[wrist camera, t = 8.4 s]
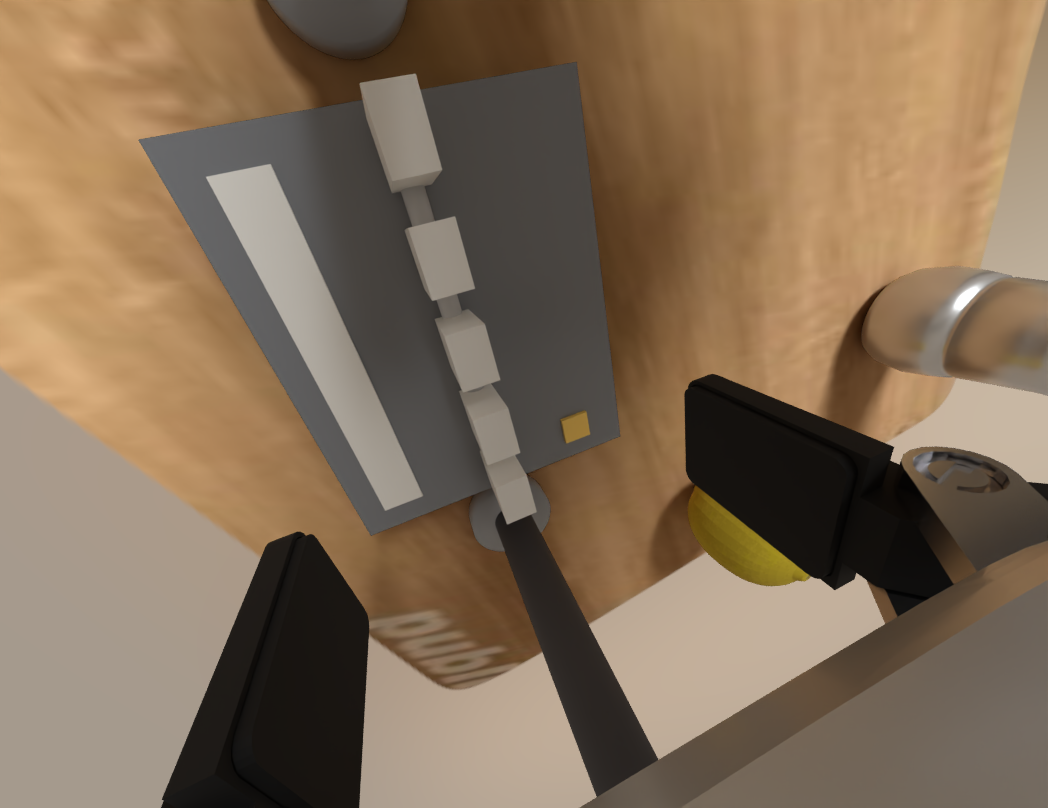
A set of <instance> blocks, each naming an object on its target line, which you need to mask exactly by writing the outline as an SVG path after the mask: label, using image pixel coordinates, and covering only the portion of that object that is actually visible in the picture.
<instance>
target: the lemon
mask: <svg viewBox="0 0 1048 808" xmlns="http://www.w3.org/2000/svg"><path fill="white" fill-rule="evenodd" d="M688 520H689V524H690V527H691V529H692V531H693V534H694V536H695V537H696V539H697V541H698V542H699V544H700V545H701V546H702V547H703V549H704V550H705V551H706V552H707V553H708V554H709V555H710V556H711V557H712V558H713V559H715V560H716V561H717V562H718V563H719V564H720V565H722V566H723V567H724V568H726V569H727V570H728V571H730V572H731V573H733V574H735V575H736V576H738V577H740V578H742V579H744V580H746V581H748V582H752V583H755V584H759V585H764V586H780V585H786V584H790V583H792V582H795V581H797V580H798V581H806V580H808V579H809V578H810V577H811V576H810V575H808V574H807V573H805V572H804V571H803V570H801V569H800V568H799V567H798V566H796V565H795V564H794V563H793V562H791V561H790V560H789V559H788V558H786V557H785V556H784V555H783V554H781V553H780V552H779V551H778V550H776V549H775V548H774V547H773V546H771V545H770V544H769V543H768V542H766V541H765V540H764V539H762V538H761V537H760V536H759V535H757V534H756V533H755V532H754V531H752V530H751V529H750V528H749V527H747V526H746V525H745V524H744V523H742V522H741V521H740V520H739V519H737V518H736V517H735V516H734V515H732V514H731V513H730V512H729V511H727V510H726V509H725V508H724V507H722V506H721V505H720V504H719V503H717V502H716V501H715V500H713V499H712V498H711V497H710V496H708V495H707V494H706V493H705V492H703V491H702V490H701V489H700V488H698V487H697V486H695V487H694V492H693V493H692V495H691V498H690V500H689V504H688Z"/></svg>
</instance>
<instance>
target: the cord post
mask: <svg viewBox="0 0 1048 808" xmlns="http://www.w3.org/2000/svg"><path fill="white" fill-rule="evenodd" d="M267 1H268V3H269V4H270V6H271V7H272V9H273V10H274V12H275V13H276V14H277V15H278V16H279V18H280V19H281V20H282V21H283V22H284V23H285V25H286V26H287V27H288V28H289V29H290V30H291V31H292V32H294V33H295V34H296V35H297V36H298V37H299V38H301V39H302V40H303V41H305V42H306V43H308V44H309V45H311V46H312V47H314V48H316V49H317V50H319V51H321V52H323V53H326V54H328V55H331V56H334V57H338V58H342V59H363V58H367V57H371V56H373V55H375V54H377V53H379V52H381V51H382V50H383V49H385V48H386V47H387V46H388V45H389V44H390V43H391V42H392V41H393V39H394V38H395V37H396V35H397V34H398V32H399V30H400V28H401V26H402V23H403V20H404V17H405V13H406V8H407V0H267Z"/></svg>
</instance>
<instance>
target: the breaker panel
mask: <svg viewBox="0 0 1048 808" xmlns="http://www.w3.org/2000/svg"><path fill="white" fill-rule="evenodd" d="M420 91H421V94H422V98H423V102H424V105H425V109H426V113H427V116H428V120H429V123H430V127H431V131H432V134H433V138H434V142H435V145H436V149H437V152H438V156H439V160H440V163H441V167H442V171H441V173H440V174H439V175H438V177H437V178H436V179H435V181H434V182H433V183H432V184H431V185H427V186H425V190H426V193H427V196H428V200H429V203H430V206H431V210H432V213H433V216H434V220H435V221H438V220H442V219H446V218H450V217H454V216H455V218H456V221H457V225H458V228H459V232H460V236H461V239H462V243H463V247H464V250H465V254H466V257H467V261H468V265H469V268H470V272H471V275H472V279H473V283H474V286H475V289H472V290H469V291H465V292H462V293H458V294H457V296H458V299H459V303H460V306H461V309H462V311H463V310H467V309H469V310H470V311H471V312H472V313H473V314H474V315H475V316H477V317H478V318H479V319H480V320H481V321H482V322H483V323H484V324H485V326H486V330H487V333H488V337H489V341H490V344H491V348H492V351H493V355H494V359H495V362H496V366H497V370H498V373H499V377H500V380H499V381H496V382H493V383H491V384H492V386H493V387H494V388H495V390H496V391H497V393H498V394H499V396H500V397H501V398H502V400H503V401H504V403H505V404H506V406H507V407H508V409H509V413H510V417H511V420H512V424H513V427H514V431H515V435H516V438H517V442H518V446H519V449H520V453H519V454H516V455H515V456H516V458H517V459H518V461H519V463H520V465H521V466H522V468H523V470H524V471H525V473H526V474H527V473H529V472H532V471H534V470H537V469H539V468H542V467H544V466H547V465H550V464H552V463H555V462H557V461H560V460H562V459H565V458H567V457H570V456H572V455H575V454H577V453H580V452H582V451H585V450H587V449H590V448H592V447H595V446H597V445H600V444H602V443H605V442H607V441H610V440H612V439H615V438H617V437H620V429H619V421H618V412H617V404H616V395H615V386H614V378H613V369H612V361H611V352H610V344H609V335H608V326H607V318H606V309H605V301H604V292H603V284H602V275H601V266H600V258H599V249H598V241H597V232H596V223H595V215H594V206H593V198H592V189H591V181H590V172H589V163H588V155H587V146H586V138H585V129H584V121H583V112H582V103H581V95H580V86H579V78H578V69H577V62H573V63H568V64H562V65H556V66H551V67H545V68H539V69H534V70H528V71H523V72H517V73H511V74H506V75H500V76H494V77H489V78H483V79H477V80H472V81H466V82H461V83H455V84H449V85H444V86H438V87H432V88H427V89H421V90H420ZM139 142H140V144H141V145H142V147H143V149H144V150H145V152H146V154H147V155H148V157H149V159H150V161H151V162H152V164H153V166H154V167H155V169H156V171H157V172H158V174H159V176H160V178H161V179H162V181H163V183H164V184H165V186H166V188H167V189H168V191H169V193H170V195H171V196H172V198H173V200H174V201H175V203H176V205H177V206H178V208H179V210H180V212H181V213H182V215H183V217H184V218H185V220H186V222H187V224H188V225H189V227H190V229H191V230H192V232H193V234H194V235H195V237H196V239H197V241H198V242H199V244H200V246H201V247H202V249H203V251H204V252H205V254H206V256H207V258H208V259H209V261H210V263H211V264H212V266H213V268H214V269H215V271H216V273H217V275H218V276H219V278H220V280H221V281H222V283H223V285H224V286H225V288H226V290H227V292H228V293H229V295H230V297H231V298H232V300H233V302H234V304H235V305H236V307H237V309H238V310H239V312H240V314H241V315H242V317H243V319H244V321H245V322H246V324H247V326H248V327H249V329H250V331H251V332H252V334H253V336H254V338H255V339H256V341H257V343H258V344H259V346H260V348H261V349H262V351H263V353H264V355H265V356H266V358H267V360H268V361H269V363H270V365H271V366H272V368H273V370H274V372H275V373H276V375H277V377H278V378H279V380H280V382H281V384H282V385H283V387H284V389H285V390H286V392H287V394H288V395H289V397H290V399H291V401H292V402H293V404H294V406H295V407H296V409H297V411H298V412H299V414H300V416H301V418H302V419H303V421H304V423H305V424H306V426H307V428H308V429H309V431H310V433H311V435H312V436H313V438H314V440H315V441H316V443H317V445H318V446H319V448H320V450H321V452H322V453H323V455H324V457H325V458H326V460H327V462H328V464H329V465H330V467H331V469H332V470H333V472H334V474H335V475H336V477H337V479H338V481H339V482H340V484H341V486H342V487H343V489H344V491H345V492H346V494H347V496H348V498H349V499H350V501H351V503H352V504H353V506H354V508H355V509H356V511H357V513H358V515H359V516H360V518H361V520H362V521H363V523H364V525H365V526H366V528H367V530H368V532H369V533H370V535H374V534H376V533H379V532H381V531H384V530H386V529H389V528H391V527H394V526H397V525H399V524H402V523H404V522H407V521H409V520H412V519H414V518H417V517H419V516H422V515H424V514H427V513H429V512H432V511H434V510H437V509H439V508H442V507H444V506H447V505H449V504H452V503H454V502H457V501H459V500H462V499H464V498H467V497H469V496H472V495H474V494H477V493H479V492H482V491H484V490H487V489H489V488H492V486H491V484H490V481H489V478H488V475H487V472H486V469H485V466H484V463H483V460H482V457H481V454H480V451H481V449H480V447H479V445H478V442H477V440H476V438H475V435H474V433H473V431H472V428H471V425H470V422H469V419H468V416H467V413H466V410H465V407H464V404H463V401H462V398H461V395H460V392H459V391H461V390H462V389H461V387H460V385H459V383H458V381H457V379H456V377H455V375H454V373H453V370H452V368H451V366H450V363H449V360H448V357H447V354H446V351H445V348H444V345H443V342H442V339H441V336H440V333H439V331H438V328H437V325H436V322H435V319H436V318H440V317H442V315H441V312H440V309H439V306H438V303H437V300H434V301H432V300H431V298H430V297H429V295H428V294H427V292H426V291H425V289H424V286H423V283H422V281H421V278H420V275H419V272H418V269H417V266H416V263H415V260H414V257H413V254H412V251H411V248H410V245H409V242H408V239H407V236H406V233H405V230H406V229H407V228H410V227H412V224H411V221H410V218H409V215H408V212H407V209H406V206H405V203H404V200H403V197H402V194H401V192H396V193H392V192H391V189H390V186H389V183H388V180H387V178H386V175H385V172H384V169H383V166H382V163H381V160H380V157H379V154H378V151H377V148H376V145H375V142H374V139H373V136H372V133H371V130H370V127H369V125H368V122H367V119H366V114H365V109H364V104H363V100H359V101H354V102H348V103H342V104H337V105H331V106H325V107H320V108H314V109H308V110H303V111H297V112H292V113H286V114H280V115H275V116H269V117H263V118H258V119H252V120H246V121H241V122H235V123H230V124H224V125H218V126H213V127H207V128H201V129H196V130H190V131H185V132H179V133H173V134H168V135H162V136H156V137H151V138H145V139H139Z"/></svg>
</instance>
